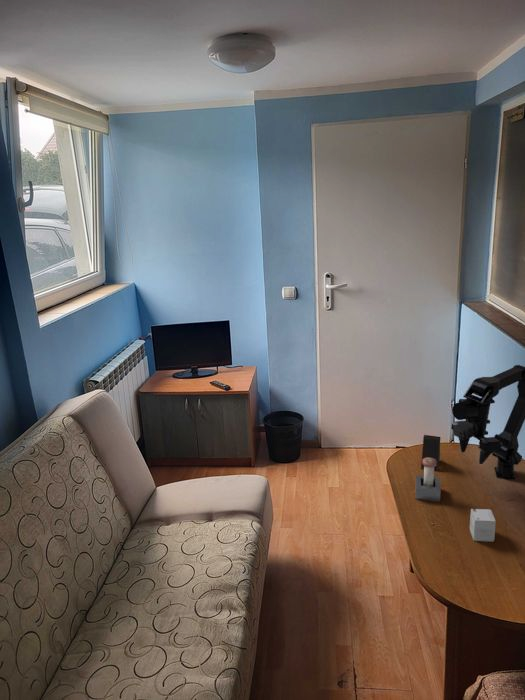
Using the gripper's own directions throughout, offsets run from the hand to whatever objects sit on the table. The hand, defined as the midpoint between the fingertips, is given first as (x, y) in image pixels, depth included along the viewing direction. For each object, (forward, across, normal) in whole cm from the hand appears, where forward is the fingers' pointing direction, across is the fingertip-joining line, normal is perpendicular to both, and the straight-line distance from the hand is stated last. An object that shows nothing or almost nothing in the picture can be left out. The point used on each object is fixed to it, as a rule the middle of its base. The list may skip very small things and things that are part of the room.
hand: (471, 457), depth 179 cm
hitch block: (+14, -3, -14) cm, 20 cm away
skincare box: (+14, +22, -11) cm, 28 cm away
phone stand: (+12, -19, -1) cm, 23 cm away
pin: (+14, -3, -13) cm, 20 cm away
